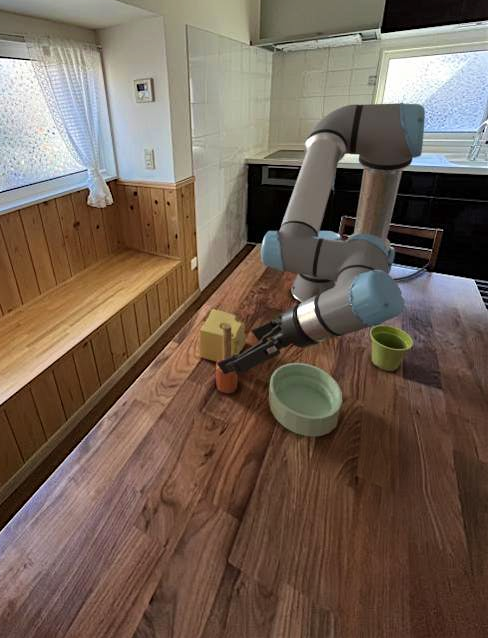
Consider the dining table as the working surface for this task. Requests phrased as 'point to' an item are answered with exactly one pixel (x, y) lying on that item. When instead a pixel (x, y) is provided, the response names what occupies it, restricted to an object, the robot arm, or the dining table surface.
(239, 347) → the cheese
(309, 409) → the bowl
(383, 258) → the robot arm
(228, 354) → the stick
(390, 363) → the plant pot
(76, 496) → the dining table surface
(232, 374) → the utensil cup
